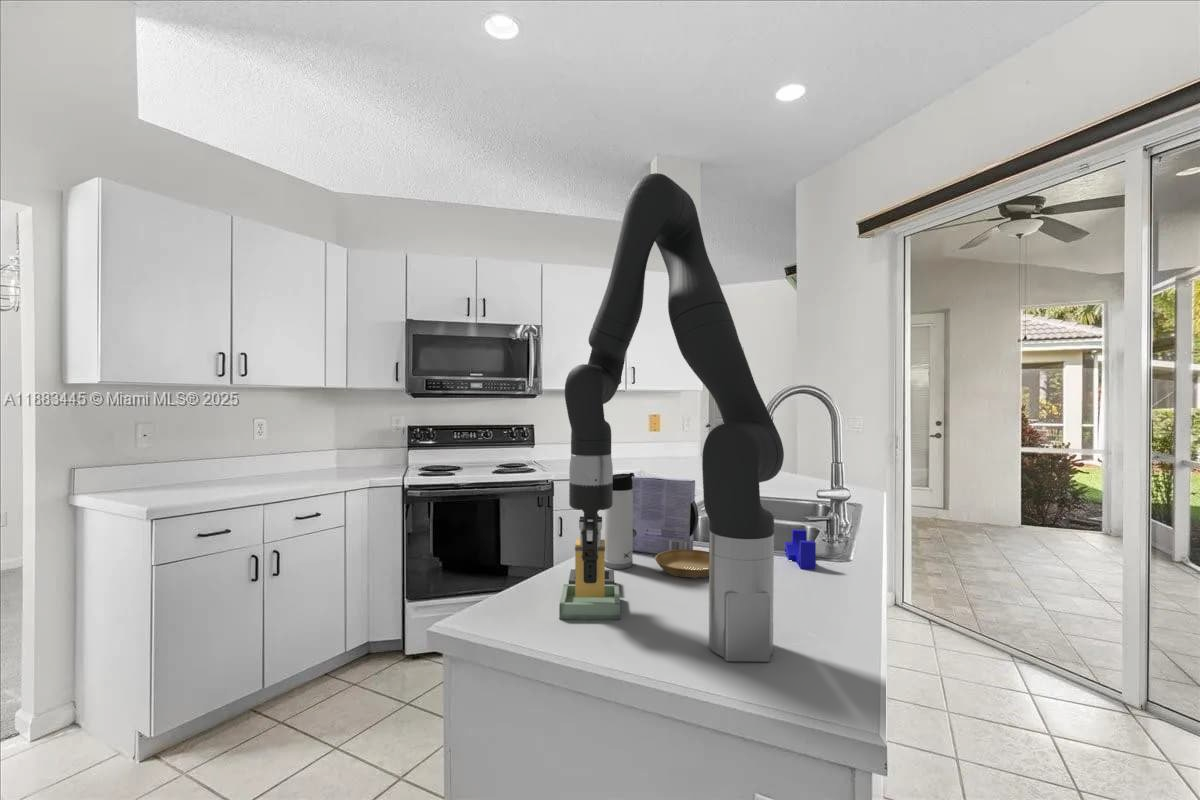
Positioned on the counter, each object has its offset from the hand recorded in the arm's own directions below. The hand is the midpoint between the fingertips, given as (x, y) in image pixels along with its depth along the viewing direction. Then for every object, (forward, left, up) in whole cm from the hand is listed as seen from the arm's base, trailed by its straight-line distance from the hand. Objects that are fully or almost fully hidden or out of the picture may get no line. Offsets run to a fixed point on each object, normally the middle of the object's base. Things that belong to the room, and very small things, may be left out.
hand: (590, 578), depth 102 cm
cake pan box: (+36, -15, -5) cm, 40 cm away
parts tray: (0, 0, -5) cm, 5 cm away
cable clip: (+29, -46, -6) cm, 54 cm away
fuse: (0, 0, -3) cm, 3 cm away
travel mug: (+25, -6, -5) cm, 27 cm away
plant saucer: (+22, -21, -6) cm, 31 cm away
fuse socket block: (+10, 0, -5) cm, 12 cm away
